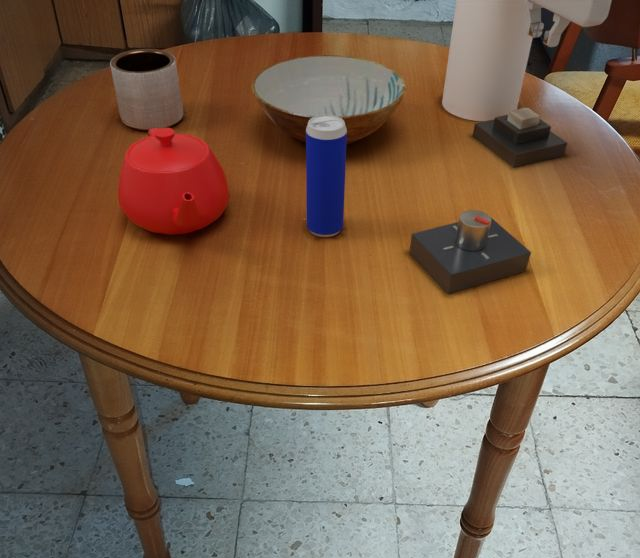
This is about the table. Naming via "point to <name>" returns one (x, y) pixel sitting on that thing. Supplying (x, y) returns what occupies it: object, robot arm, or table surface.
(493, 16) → the canister
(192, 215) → the teapot
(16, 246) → the table surface
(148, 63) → the planter
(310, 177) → the beverage can
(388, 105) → the bowl
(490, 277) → the volume panel
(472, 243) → the volume dial
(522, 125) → the cream push button
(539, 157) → the push button box
